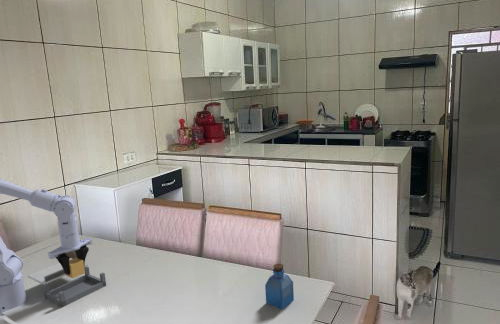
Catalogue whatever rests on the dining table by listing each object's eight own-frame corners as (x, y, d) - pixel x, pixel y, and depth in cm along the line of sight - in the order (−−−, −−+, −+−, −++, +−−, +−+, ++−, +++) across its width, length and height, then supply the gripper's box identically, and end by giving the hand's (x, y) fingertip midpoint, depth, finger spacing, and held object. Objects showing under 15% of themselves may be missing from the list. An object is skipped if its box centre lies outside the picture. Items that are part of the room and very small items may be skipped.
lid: (43, 284, 129) (42, 278, 129) (27, 277, 135) (26, 271, 135) (87, 265, 142) (86, 260, 141) (71, 259, 148) (70, 254, 148)
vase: (61, 266, 156) (57, 246, 155) (75, 259, 162) (72, 239, 161) (72, 269, 153) (69, 248, 152) (87, 262, 159) (84, 242, 157)
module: (72, 278, 128) (70, 265, 127) (65, 275, 131) (63, 262, 130) (84, 273, 132) (83, 260, 131) (77, 269, 134) (76, 257, 134)
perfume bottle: (277, 294, 126) (276, 259, 123) (293, 300, 122) (292, 264, 120) (266, 303, 121) (264, 267, 119) (282, 309, 117) (280, 272, 115)
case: (62, 309, 124) (60, 293, 123) (45, 300, 130) (42, 285, 129) (106, 287, 137) (104, 273, 136) (88, 280, 143) (86, 266, 142)
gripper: (53, 242, 121) (60, 282, 123) (95, 228, 132) (100, 265, 135) (42, 238, 125) (48, 277, 127) (84, 224, 136) (89, 260, 139)
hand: (74, 270), depth 131 cm, fingers closed on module, 4 cm apart
